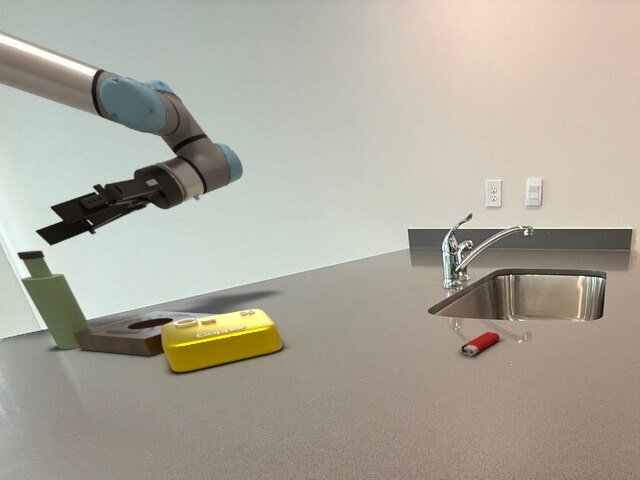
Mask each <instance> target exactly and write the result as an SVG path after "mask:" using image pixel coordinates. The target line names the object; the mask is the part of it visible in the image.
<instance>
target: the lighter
mask: <svg viewBox="0 0 640 480" xmlns="http://www.w3.org/2000/svg"><path fill="white" fill-rule="evenodd" d="M499 340H500V334H499V333H497V332H491V331H486V332H484V333H483V334H481V335H479V336H477V337H475V338H474V339H472V340H470V341H468V342H467V343H465V344H464V345H462V346H461V351H462V353H464V355H465V356H467V357H473V356H475V355H476V354H478V353H479V352H481V351H483V350H484V349H486V348H488V347H489V346H491V345H492V344H495V343H496V342H497V341H499Z"/></svg>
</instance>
